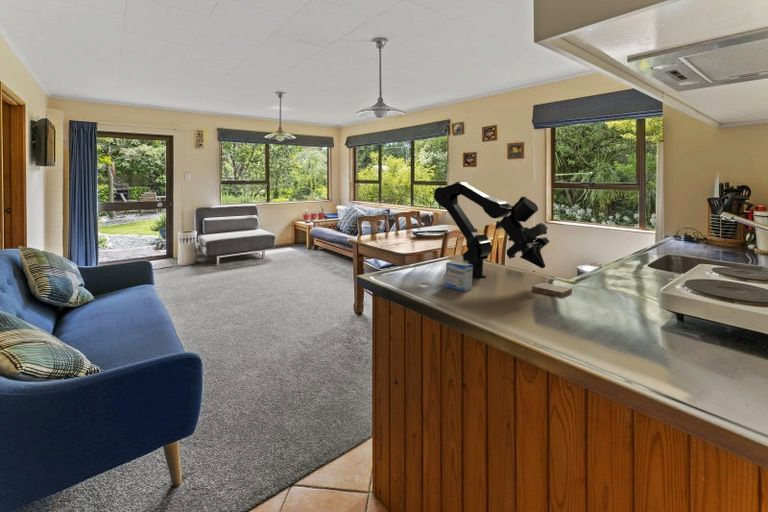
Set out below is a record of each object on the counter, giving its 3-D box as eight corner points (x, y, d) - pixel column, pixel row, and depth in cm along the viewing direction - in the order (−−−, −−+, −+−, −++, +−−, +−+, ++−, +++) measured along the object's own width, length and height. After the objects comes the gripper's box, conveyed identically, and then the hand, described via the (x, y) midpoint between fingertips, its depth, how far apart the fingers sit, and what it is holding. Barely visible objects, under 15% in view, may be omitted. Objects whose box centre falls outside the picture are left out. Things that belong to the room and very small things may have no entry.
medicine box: (444, 287, 139) (445, 262, 137) (452, 285, 142) (453, 260, 140) (464, 291, 133) (465, 265, 132) (472, 289, 136) (473, 263, 135)
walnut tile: (532, 286, 134) (562, 292, 127) (542, 282, 139) (572, 288, 131) (531, 292, 134) (561, 298, 127) (542, 288, 139) (571, 294, 132)
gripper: (517, 217, 128) (548, 256, 122) (545, 213, 141) (575, 249, 135) (494, 239, 136) (522, 277, 130) (523, 234, 148) (550, 268, 142)
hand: (543, 267), depth 134 cm, fingers closed
